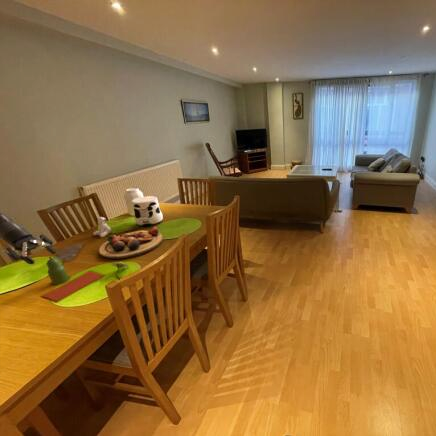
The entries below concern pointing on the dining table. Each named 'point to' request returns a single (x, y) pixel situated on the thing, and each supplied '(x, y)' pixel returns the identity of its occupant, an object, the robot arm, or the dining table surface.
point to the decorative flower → (119, 266)
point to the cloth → (72, 286)
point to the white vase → (131, 198)
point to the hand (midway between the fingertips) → (44, 258)
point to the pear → (56, 271)
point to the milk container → (147, 210)
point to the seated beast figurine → (102, 228)
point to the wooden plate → (130, 244)
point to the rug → (68, 252)
